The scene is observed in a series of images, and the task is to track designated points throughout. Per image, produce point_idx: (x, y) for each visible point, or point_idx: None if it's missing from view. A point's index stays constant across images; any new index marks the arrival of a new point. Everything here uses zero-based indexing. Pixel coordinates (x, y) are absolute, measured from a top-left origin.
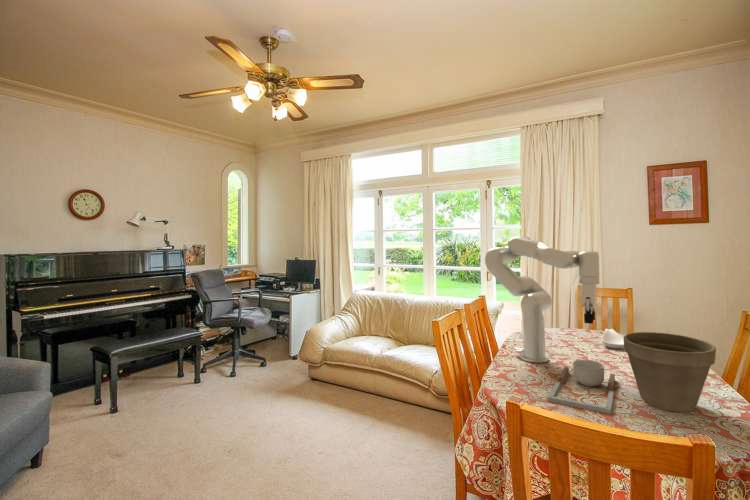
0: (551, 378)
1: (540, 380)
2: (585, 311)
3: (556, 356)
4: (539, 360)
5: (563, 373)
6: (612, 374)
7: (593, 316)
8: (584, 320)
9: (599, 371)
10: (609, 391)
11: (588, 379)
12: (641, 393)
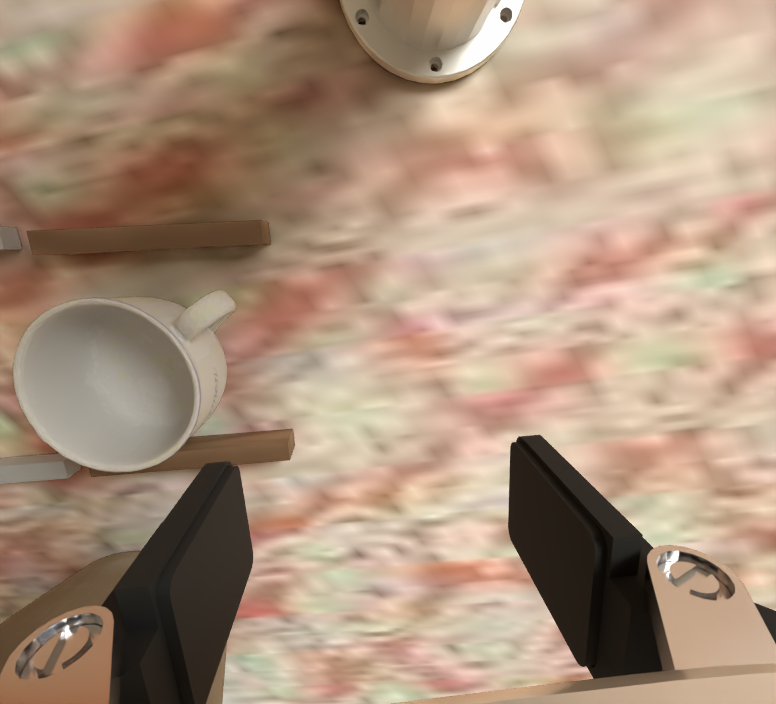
0: (111, 178)
1: (30, 128)
2: (10, 701)
3: (558, 110)
4: (357, 27)
5: (119, 240)
6: (276, 453)
7: (531, 566)
8: (193, 483)
9: (80, 447)
10: (57, 464)
11: (73, 382)
12: (64, 581)
